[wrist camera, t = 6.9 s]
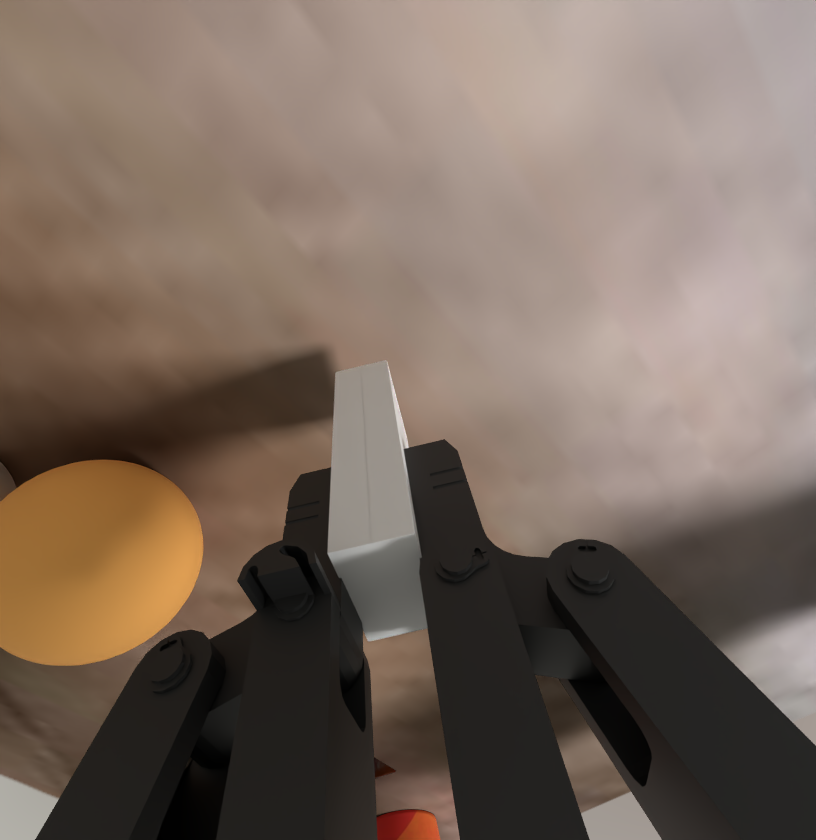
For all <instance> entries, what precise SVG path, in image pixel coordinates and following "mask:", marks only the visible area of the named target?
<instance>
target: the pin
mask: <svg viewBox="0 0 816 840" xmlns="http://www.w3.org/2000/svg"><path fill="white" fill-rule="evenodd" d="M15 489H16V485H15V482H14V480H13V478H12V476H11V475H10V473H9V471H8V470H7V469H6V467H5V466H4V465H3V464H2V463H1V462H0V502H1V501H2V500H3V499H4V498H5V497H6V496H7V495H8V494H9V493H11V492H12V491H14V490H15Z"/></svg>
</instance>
